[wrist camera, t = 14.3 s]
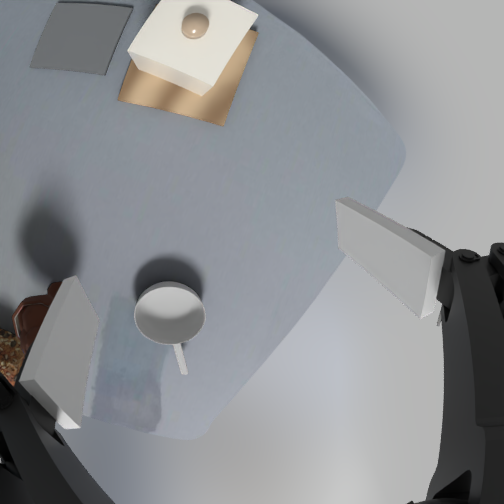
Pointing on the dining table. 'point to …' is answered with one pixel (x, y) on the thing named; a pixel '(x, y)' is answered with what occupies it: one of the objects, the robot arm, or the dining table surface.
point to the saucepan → (170, 316)
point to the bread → (10, 356)
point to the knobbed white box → (190, 41)
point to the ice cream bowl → (32, 316)
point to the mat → (80, 37)
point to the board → (182, 100)
